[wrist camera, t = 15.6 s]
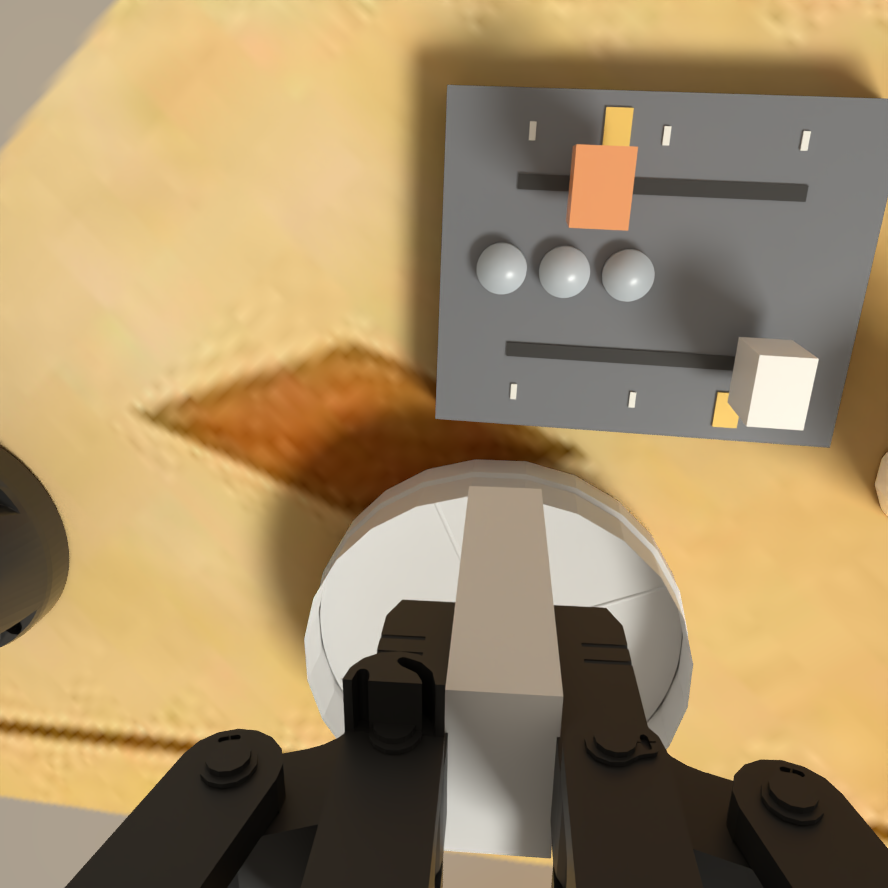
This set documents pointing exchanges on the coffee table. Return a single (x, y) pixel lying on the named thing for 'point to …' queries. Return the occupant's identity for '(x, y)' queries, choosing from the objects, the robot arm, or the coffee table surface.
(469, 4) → the coffee table surface
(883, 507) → the white cup
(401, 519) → the dish
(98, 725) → the coffee table surface
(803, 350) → the cream block
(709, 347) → the console
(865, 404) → the coffee table surface
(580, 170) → the fader
